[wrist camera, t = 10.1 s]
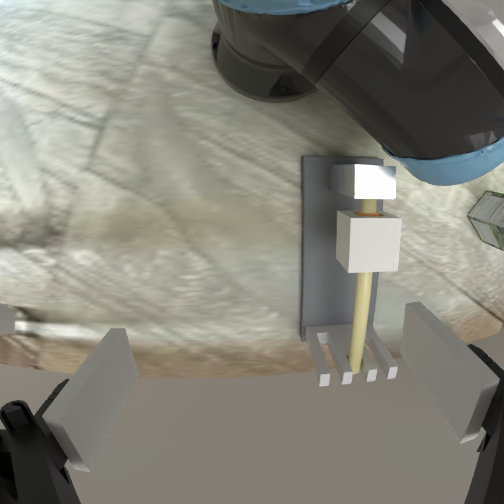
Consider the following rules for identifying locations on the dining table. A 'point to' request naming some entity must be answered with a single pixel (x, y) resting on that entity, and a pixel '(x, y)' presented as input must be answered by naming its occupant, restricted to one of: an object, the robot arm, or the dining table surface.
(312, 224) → the cable comb board
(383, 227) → the sleeve
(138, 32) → the dining table surface
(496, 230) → the syrup box
